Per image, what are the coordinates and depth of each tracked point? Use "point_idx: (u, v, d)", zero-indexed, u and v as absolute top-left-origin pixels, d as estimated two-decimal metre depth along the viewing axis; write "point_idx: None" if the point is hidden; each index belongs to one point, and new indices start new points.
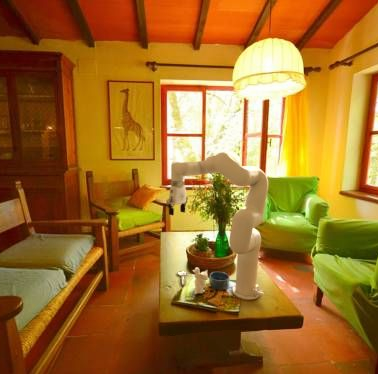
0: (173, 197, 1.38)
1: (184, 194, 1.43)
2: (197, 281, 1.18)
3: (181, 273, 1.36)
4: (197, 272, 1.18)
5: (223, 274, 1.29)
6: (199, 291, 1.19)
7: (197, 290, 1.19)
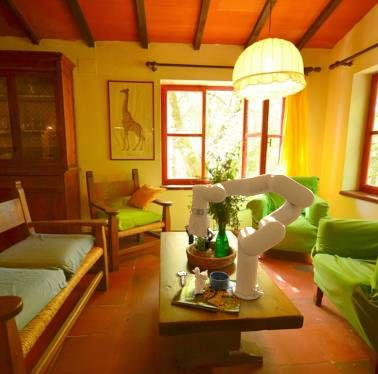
0: None
1: (201, 226, 1.14)
2: (197, 281, 1.18)
3: (181, 273, 1.36)
4: (197, 272, 1.18)
5: (223, 274, 1.29)
6: (199, 291, 1.19)
7: (197, 290, 1.19)
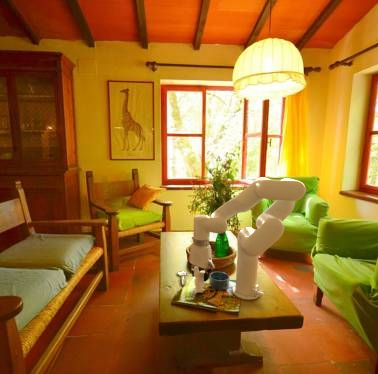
0: None
1: (202, 257, 1.14)
2: (196, 280, 1.19)
3: (181, 273, 1.36)
4: (196, 270, 1.19)
5: (223, 274, 1.29)
6: (199, 290, 1.19)
7: (197, 289, 1.19)
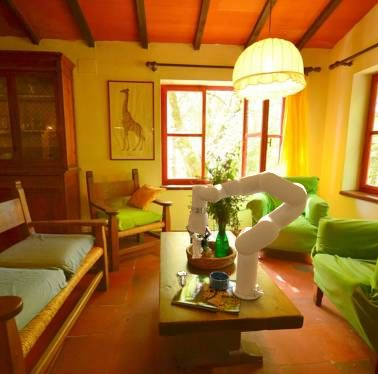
0: None
1: (200, 224, 1.22)
2: (194, 246, 1.26)
3: (181, 273, 1.36)
4: (194, 237, 1.26)
5: (223, 274, 1.29)
6: (196, 256, 1.26)
7: (195, 255, 1.26)
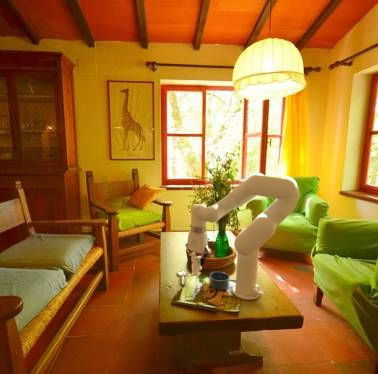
0: None
1: (199, 243, 1.24)
2: (193, 264, 1.28)
3: (181, 273, 1.36)
4: (193, 256, 1.28)
5: (223, 274, 1.29)
6: (196, 274, 1.28)
7: (194, 273, 1.28)
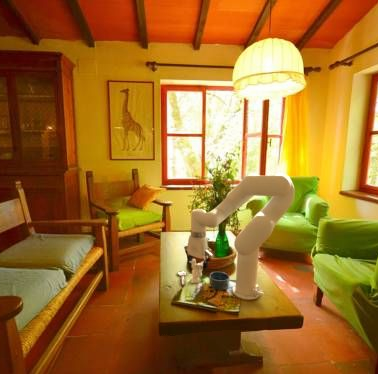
0: None
1: (199, 248, 1.24)
2: (194, 271, 1.28)
3: (181, 273, 1.36)
4: (194, 263, 1.27)
5: (223, 274, 1.29)
6: (196, 280, 1.29)
7: (194, 280, 1.28)
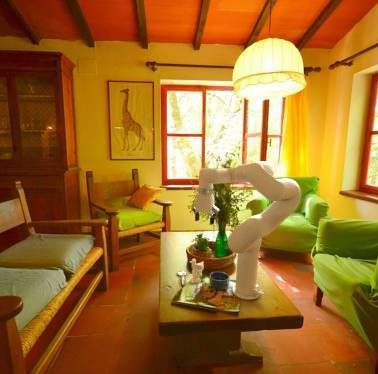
0: None
1: (206, 204, 1.32)
2: (194, 271, 1.28)
3: (181, 273, 1.36)
4: (194, 263, 1.27)
5: (223, 274, 1.29)
6: (196, 280, 1.29)
7: (194, 280, 1.28)
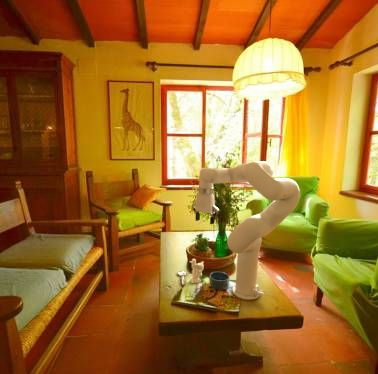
0: None
1: (206, 203, 1.32)
2: (194, 271, 1.28)
3: (181, 273, 1.36)
4: (194, 263, 1.27)
5: (223, 274, 1.29)
6: (196, 280, 1.29)
7: (194, 280, 1.28)
